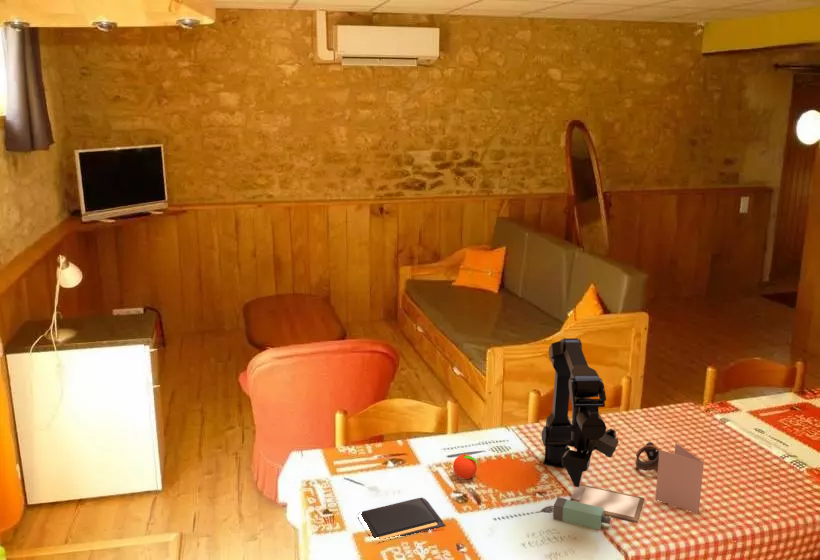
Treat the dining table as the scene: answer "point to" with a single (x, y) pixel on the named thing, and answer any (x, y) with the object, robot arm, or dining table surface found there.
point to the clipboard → (610, 502)
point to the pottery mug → (651, 455)
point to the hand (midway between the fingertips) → (580, 478)
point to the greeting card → (679, 479)
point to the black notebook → (402, 518)
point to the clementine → (465, 466)
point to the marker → (579, 513)
